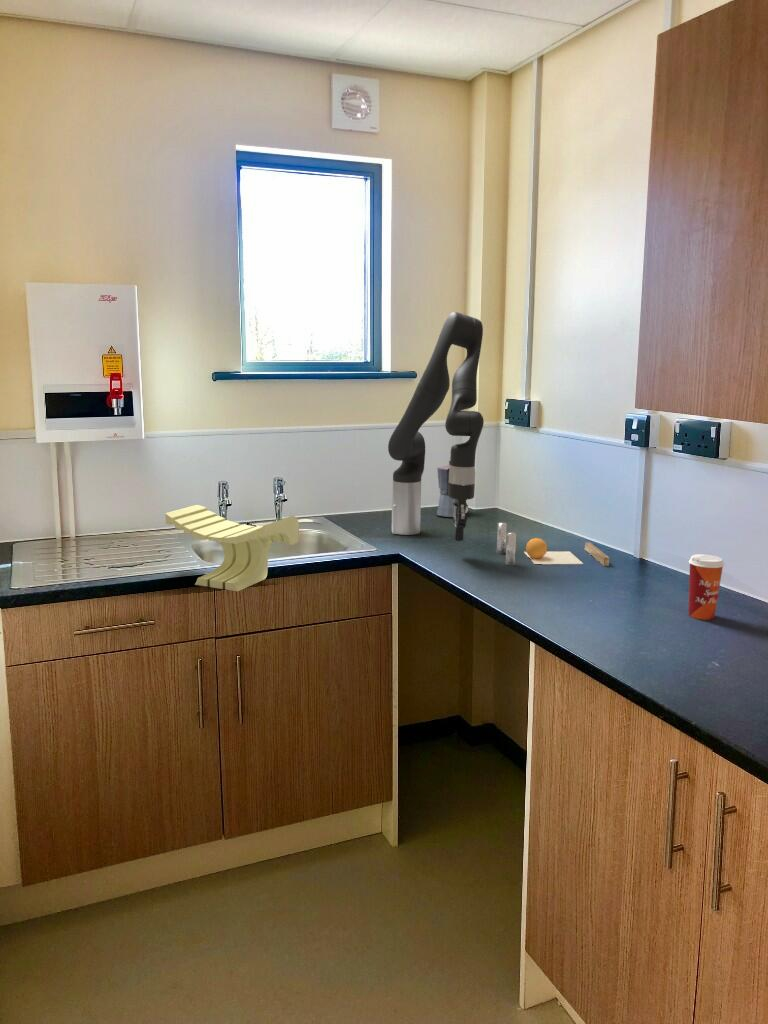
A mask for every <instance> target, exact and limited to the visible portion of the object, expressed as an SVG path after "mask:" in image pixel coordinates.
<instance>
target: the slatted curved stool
mask: <svg viewBox="0 0 768 1024" xmlns="http://www.w3.org/2000/svg"><path fill="white" fill-rule="evenodd" d="M165 525H172V526H173V525H174V529H175V530H176V529H177V530H183V534H186V535H191V534H192V539H198V540H203V541H204V540H208V541H211V542H219V544H220V546H221V548H222V550H223V555H224V558H223V561H222V563H221V564H220V565H219V566H217V567H216V568H215V569H213V570H212V571H210V572H208V573H206V574H204V575H202V576H199V577H197V579H196V582H195V583H194V585H195V586H202V587H209V588H214V589H221V590H223V589H225V590H227V591H234V592H239V591H242V590H244V589H246V588H248V587H250V586H253V585H255V584H257V583H259V582H261V581H264V580H266V578H267V576H268V570H269V569H268V566H269V565H268V564H269V557H270V556H269V555H270V551H271V547H272V545H273V544H272V542H278V543H281V542H283V543H284V544H286V545H290V546H293V545H295V544H297V543H299V542H300V523H299V520H298V518H297V517H296V516H295V515H290V516H288V517H285V518H282V519H278V520H275V521H273V522H271V523H268V524H265V525H257V526H255V525H248V524H241V523H238V522H234V521H232V520H228V519H227V520H226V517H222V516H220V515H218V514H217V513H216V512H213V511H211V510H209V509H208V508H207V507H205V506H203V505H200V504H195V505H189V506H187V507H184V508H179V509H176V510H172V511H168V512H165Z"/></svg>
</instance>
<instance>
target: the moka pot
mask: <svg viewBox="0 0 768 1024" xmlns="http://www.w3.org/2000/svg"><path fill="white" fill-rule="evenodd" d="M448 463H449V464H448V465H444V466H437V479H438V489H439V499H438V505H437V511H436V516H439V517H444V518H445V517H446V518H453V512H454V509H453V503H455V499H452V498H450V497H448V481H449V469H450V460H448Z"/></svg>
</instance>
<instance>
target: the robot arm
mask: <svg viewBox="0 0 768 1024" xmlns="http://www.w3.org/2000/svg"><path fill="white" fill-rule="evenodd" d="M483 331H484V326H483V323H482V321H481V320H480V319H478V318H476V317H473V316H469V315H466V314H464V313H461V312H457V311H452V312H451V313H449V315H448V316H447V318H446V319H445V321H444V322H443V325H442V328H441V331H440V333H439V335H438V338H437V341H436V344H435V347H434V349H433V352H432V354H431V357H430V358H429V360H428V363H427V365H426V367H425V370H424V371H423V373H422V376H421V377H420V379H419V382H418V384H417V386H416V388H415V390H414V393H413V395H412V396H411V400H410V401H409V403H408V405H407V408H406V409H405V412H404V413H403V415H402V417H401V419H400V421H399V423H398V424H397V425H396V427H395V429H394V430H393V432H392V434H391V436H390V437H389V438H390V439H389V441H388V446H387V451H388V454H389V456H390V458H392V459H393V460H394V461H399V462H400V461H401V464H400V465H399V467H398V468H396V469H395V470H394V471H393V473H392V502H391V533H392V535H401V536H402V535H404V536H409V535H410V536H412V535H418V534H421V515H422V514H421V512H422V510H421V509H422V508H421V505H422V501H421V500H422V476H423V474H424V470H425V460H426V441H425V438H424V436H423V434H422V433H421V432H420V431H419V430H420V429H421V427H422V426H423V425H424V424H425V423H426V422H427V421H428V420H429V419H430V418H431V417H432V416H433V415H434V414H435V413H436V412H437V411H438V410H439V408H440V407H441V406H442V405H443V402H444V400H445V398H446V396H447V394H448V392H449V390H450V375H449V374H450V373H449V369H448V354H449V351H450V348H451V346H452V345H454V346H457V347H460V348H463V349H465V350H466V356H465V358H464V360H463V362H462V363H461V364H460V365H459V367H458V368H457V369H456V371H455V373H454V374H453V376H452V382H451V403H450V406H449V411H448V413H447V416H446V419H445V426H444V427H445V431H446V432H447V433H448V434H449V435H450V436H453V437H454V436H455V437H469V438H468V439H467V441H465V442H462V443H457V444H453V445H452V446H451V449H450V458H449V459H450V460H449V461H450V469H449V481H448V497H450V498H452V499H455V503H453V509H454V512H453V517H452V518H453V523H454V527H455V531H454V539H455V540H454V541H457V542H462V541H463V540H464V529H465V528H466V526H467V520H468V516H469V514H468V511H469V505H468V503H467V500H472V499H474V498H475V488H476V487H475V486H476V453H477V446H478V443H479V441H480V440H479V438H480V436H481V434H482V431H483V427H484V422H485V421H484V417H483V415H482V413H481V412H479V411H476V410H468V409H472V408H473V407H474V406H476V404H477V402H478V401H477V399H478V396H477V393H478V392H477V389H478V387H477V380H478V379H477V377H478V367H479V363H480V355H481V348H482V343H483V336H484V335H483V334H484V332H483Z"/></svg>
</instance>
